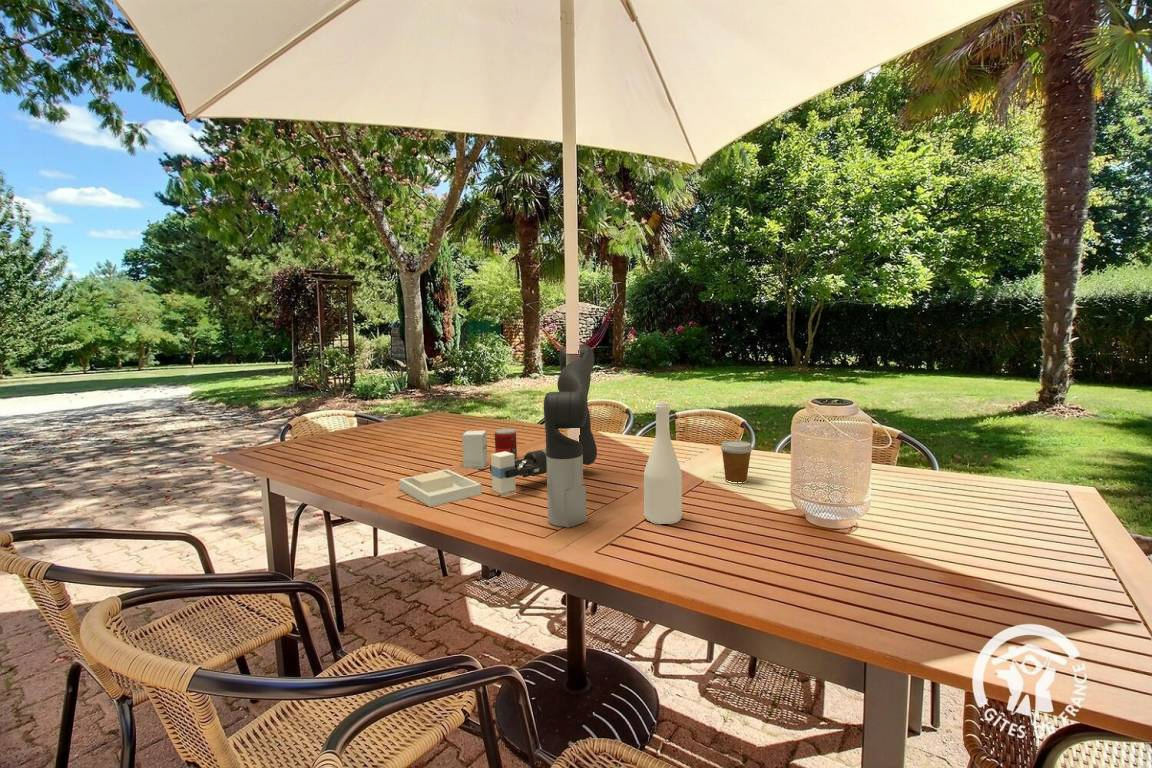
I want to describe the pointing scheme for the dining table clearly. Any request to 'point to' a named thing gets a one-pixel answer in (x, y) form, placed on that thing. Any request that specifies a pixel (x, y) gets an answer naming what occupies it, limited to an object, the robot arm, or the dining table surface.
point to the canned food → (506, 441)
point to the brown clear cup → (736, 460)
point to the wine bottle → (662, 475)
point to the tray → (443, 490)
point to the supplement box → (474, 449)
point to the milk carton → (502, 473)
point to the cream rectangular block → (433, 481)
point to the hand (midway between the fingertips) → (497, 471)
